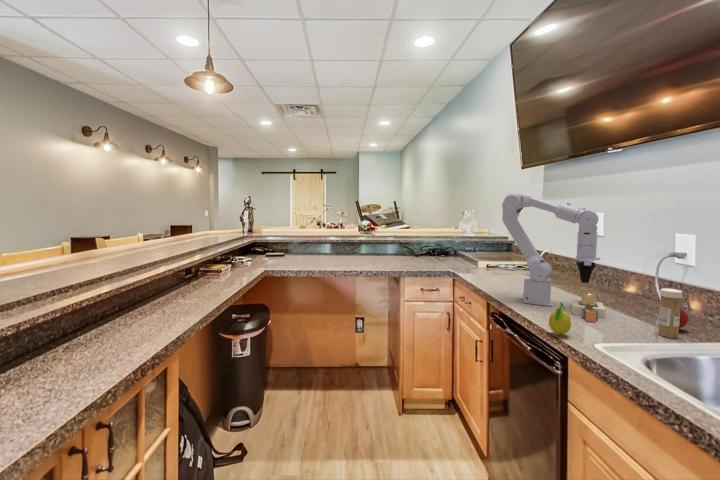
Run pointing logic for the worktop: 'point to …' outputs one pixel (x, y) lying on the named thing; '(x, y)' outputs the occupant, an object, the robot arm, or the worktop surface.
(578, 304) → the dock
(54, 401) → the worktop surface
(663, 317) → the sprinkles bottle
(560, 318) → the lemon
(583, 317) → the block
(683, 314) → the onion
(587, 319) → the pin
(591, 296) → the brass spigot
